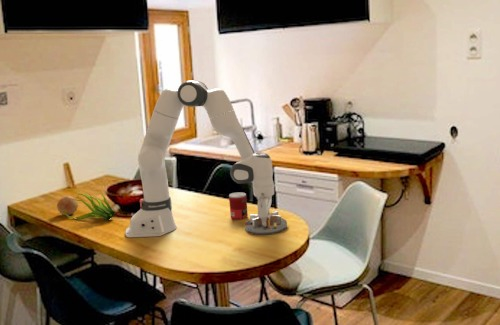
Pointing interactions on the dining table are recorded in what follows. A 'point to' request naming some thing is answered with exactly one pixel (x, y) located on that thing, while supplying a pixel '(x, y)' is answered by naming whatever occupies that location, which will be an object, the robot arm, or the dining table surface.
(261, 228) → the disc
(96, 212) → the decorative plant
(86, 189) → the dining table surface
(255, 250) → the dining table surface
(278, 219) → the finned rotor disc
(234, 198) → the canned food
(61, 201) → the onion
